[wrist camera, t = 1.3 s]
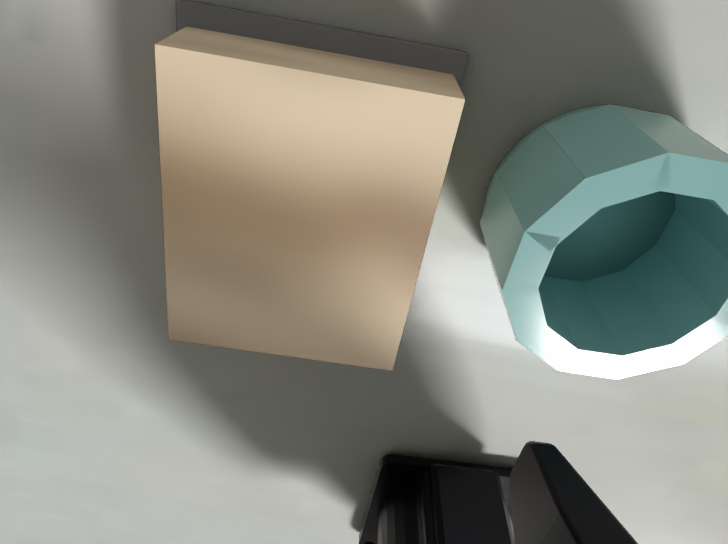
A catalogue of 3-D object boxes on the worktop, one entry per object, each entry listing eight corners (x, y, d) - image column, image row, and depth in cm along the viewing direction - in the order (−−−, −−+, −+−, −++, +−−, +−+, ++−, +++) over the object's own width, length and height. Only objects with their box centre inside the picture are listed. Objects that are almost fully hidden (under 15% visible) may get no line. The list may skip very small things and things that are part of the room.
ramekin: (635, 300, 17) (695, 390, 14) (456, 272, 17) (476, 359, 14) (735, 121, 14) (845, 183, 11) (517, 81, 14) (562, 133, 10)
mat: (395, 328, 18) (395, 336, 18) (187, 298, 18) (183, 305, 17) (466, 51, 13) (468, 54, 13) (180, -1, 13) (175, 1, 12)
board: (390, 323, 18) (392, 370, 16) (191, 294, 17) (168, 339, 15) (453, 74, 13) (465, 99, 11) (187, 26, 13) (154, 44, 11)
